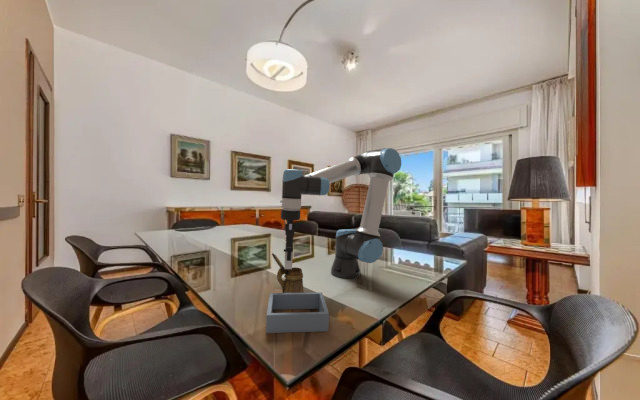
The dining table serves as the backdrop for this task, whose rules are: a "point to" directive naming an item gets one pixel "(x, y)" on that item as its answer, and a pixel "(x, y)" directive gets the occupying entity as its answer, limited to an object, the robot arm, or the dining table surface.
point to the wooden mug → (289, 278)
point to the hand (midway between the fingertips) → (288, 263)
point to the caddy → (297, 320)
